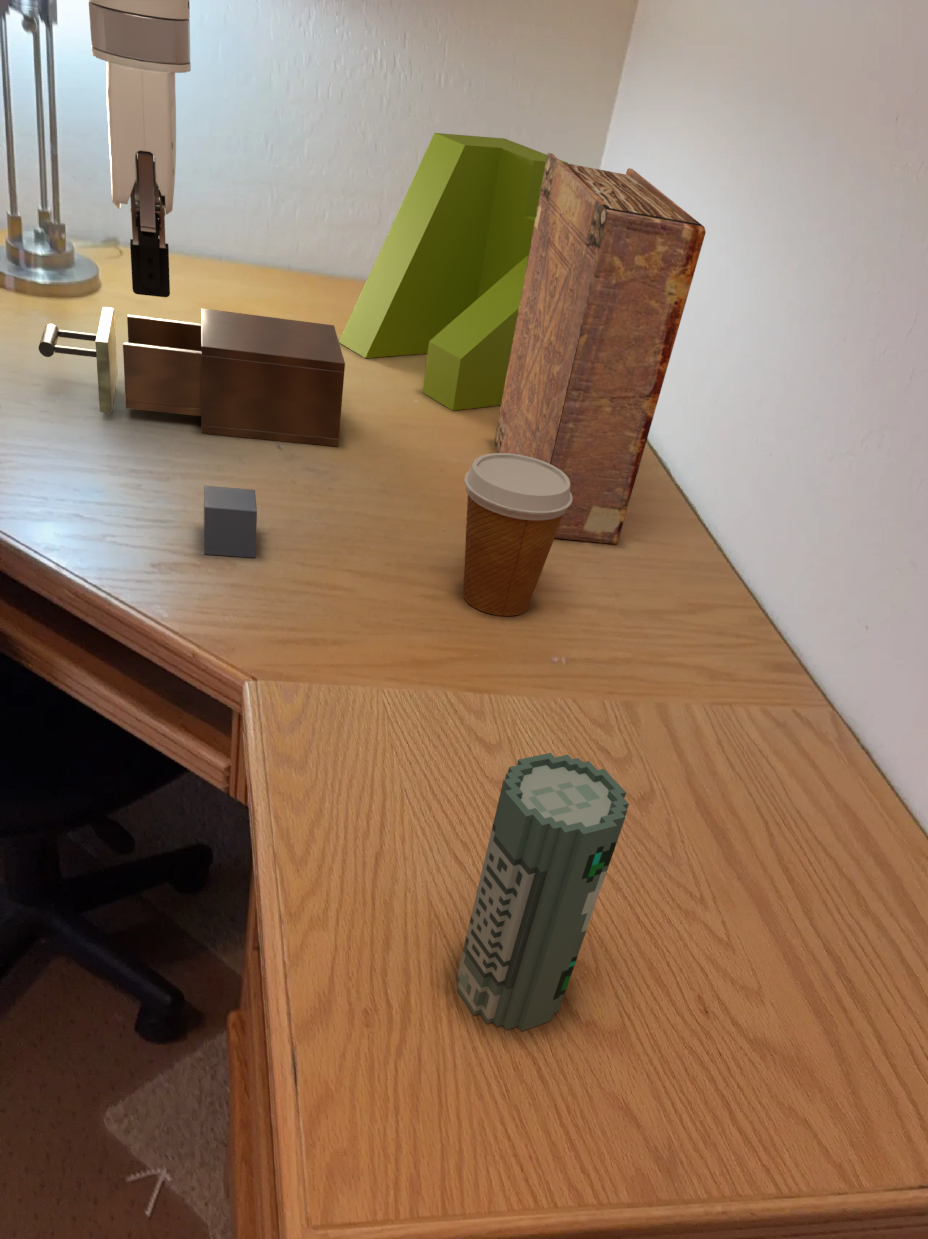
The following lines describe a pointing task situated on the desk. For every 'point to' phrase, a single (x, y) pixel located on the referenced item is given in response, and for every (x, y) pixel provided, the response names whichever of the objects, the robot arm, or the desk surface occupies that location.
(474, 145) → the book holder
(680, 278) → the book
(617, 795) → the can
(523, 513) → the disposable coffee cup
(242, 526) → the block
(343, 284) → the desk surface
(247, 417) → the cabinet
